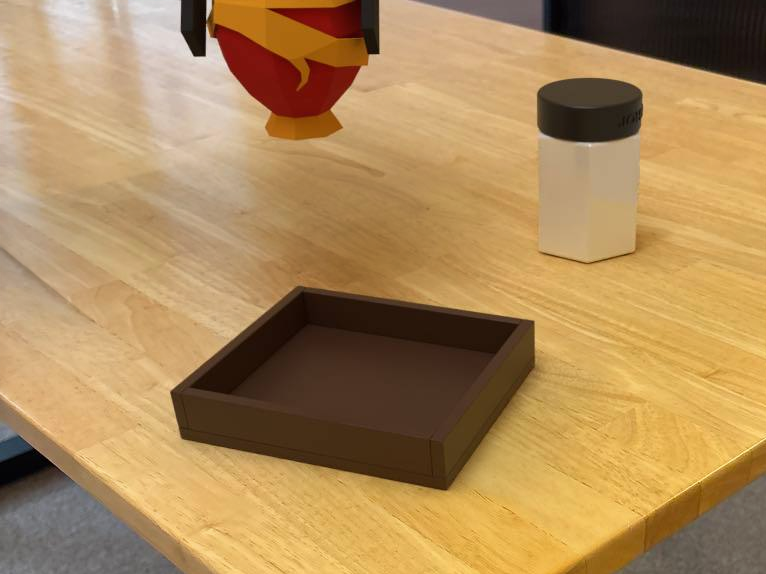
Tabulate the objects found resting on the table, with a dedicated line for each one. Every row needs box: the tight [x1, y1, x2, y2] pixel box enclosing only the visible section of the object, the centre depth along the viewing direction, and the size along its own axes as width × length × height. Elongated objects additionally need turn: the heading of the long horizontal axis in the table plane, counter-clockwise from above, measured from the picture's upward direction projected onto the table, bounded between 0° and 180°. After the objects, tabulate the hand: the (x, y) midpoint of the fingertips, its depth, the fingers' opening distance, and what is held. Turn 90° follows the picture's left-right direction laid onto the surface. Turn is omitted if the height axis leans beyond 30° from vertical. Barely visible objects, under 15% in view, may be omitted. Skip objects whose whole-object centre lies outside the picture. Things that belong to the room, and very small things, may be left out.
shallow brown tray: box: [169, 285, 536, 491], centre depth 69 cm, size 18×16×3 cm
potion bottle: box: [206, 0, 370, 142], centre depth 68 cm, size 10×10×15 cm
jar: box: [536, 77, 644, 264], centre depth 86 cm, size 9×8×12 cm
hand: (282, 43), depth 66 cm, fingers closed on potion bottle, 10 cm apart
